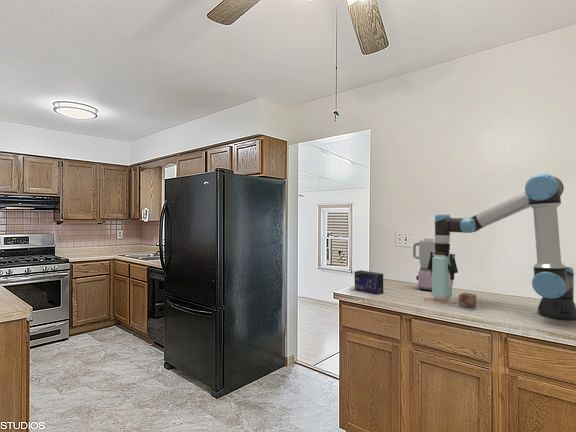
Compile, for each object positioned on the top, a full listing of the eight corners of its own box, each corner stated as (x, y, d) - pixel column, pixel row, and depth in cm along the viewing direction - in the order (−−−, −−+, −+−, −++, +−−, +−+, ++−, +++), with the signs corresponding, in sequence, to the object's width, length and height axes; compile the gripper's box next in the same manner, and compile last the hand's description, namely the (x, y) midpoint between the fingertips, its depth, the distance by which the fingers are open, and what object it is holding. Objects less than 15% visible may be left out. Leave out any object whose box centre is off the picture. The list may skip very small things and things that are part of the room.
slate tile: (488, 309, 175) (488, 307, 175) (471, 312, 169) (471, 311, 169) (464, 303, 187) (464, 302, 187) (447, 306, 180) (447, 305, 180)
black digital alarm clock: (354, 290, 220) (354, 271, 220) (360, 289, 225) (360, 270, 225) (377, 294, 208) (377, 274, 208) (383, 293, 212) (383, 273, 212)
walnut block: (476, 306, 178) (476, 294, 178) (471, 308, 174) (471, 296, 174) (463, 304, 182) (463, 292, 182) (459, 306, 178) (459, 294, 178)
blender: (441, 289, 224) (441, 238, 224) (436, 292, 214) (436, 239, 214) (415, 286, 233) (416, 237, 233) (410, 289, 223) (410, 238, 224)
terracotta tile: (460, 303, 188) (460, 301, 188) (444, 305, 182) (444, 304, 182) (439, 298, 200) (439, 296, 200) (423, 300, 194) (423, 299, 194)
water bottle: (454, 300, 185) (454, 252, 185) (434, 299, 187) (434, 251, 187) (449, 296, 195) (449, 250, 195) (430, 295, 197) (430, 250, 197)
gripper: (465, 244, 183) (465, 287, 183) (429, 241, 203) (429, 280, 203) (456, 244, 179) (456, 288, 179) (420, 241, 199) (420, 281, 199)
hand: (442, 284), depth 191 cm, fingers closed on water bottle, 10 cm apart
